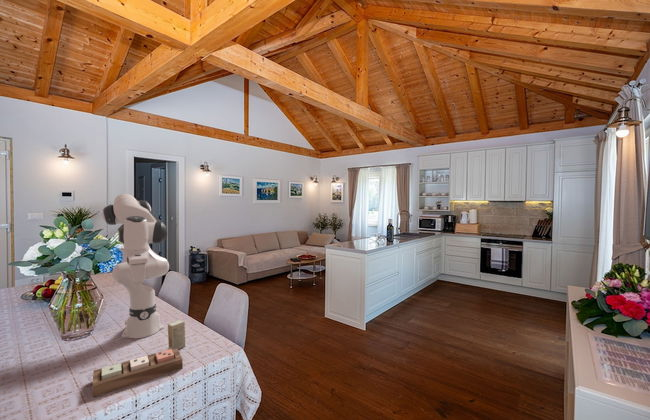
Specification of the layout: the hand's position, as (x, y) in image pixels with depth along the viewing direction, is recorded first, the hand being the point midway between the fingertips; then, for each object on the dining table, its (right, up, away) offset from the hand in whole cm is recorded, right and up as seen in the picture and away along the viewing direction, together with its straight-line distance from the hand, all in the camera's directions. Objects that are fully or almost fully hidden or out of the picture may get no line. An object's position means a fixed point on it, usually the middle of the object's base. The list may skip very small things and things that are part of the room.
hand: (136, 288), depth 121 cm
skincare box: (+9, -33, +16) cm, 38 cm away
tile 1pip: (-3, -33, -10) cm, 35 cm away
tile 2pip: (+4, -33, -5) cm, 34 cm away
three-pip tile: (+12, -33, +1) cm, 35 cm away
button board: (+4, -33, -5) cm, 34 cm away
